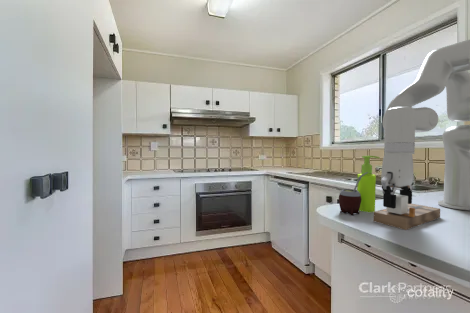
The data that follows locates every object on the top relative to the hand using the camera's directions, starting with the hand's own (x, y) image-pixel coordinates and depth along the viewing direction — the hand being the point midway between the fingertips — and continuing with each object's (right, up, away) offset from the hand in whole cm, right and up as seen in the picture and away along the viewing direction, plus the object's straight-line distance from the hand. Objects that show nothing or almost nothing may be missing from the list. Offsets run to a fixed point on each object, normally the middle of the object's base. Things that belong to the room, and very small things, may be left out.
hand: (397, 205), depth 72 cm
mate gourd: (-9, -5, +11) cm, 15 cm away
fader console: (+6, -5, +4) cm, 9 cm away
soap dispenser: (-1, -5, +15) cm, 16 cm away
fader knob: (0, -2, 0) cm, 2 cm away
